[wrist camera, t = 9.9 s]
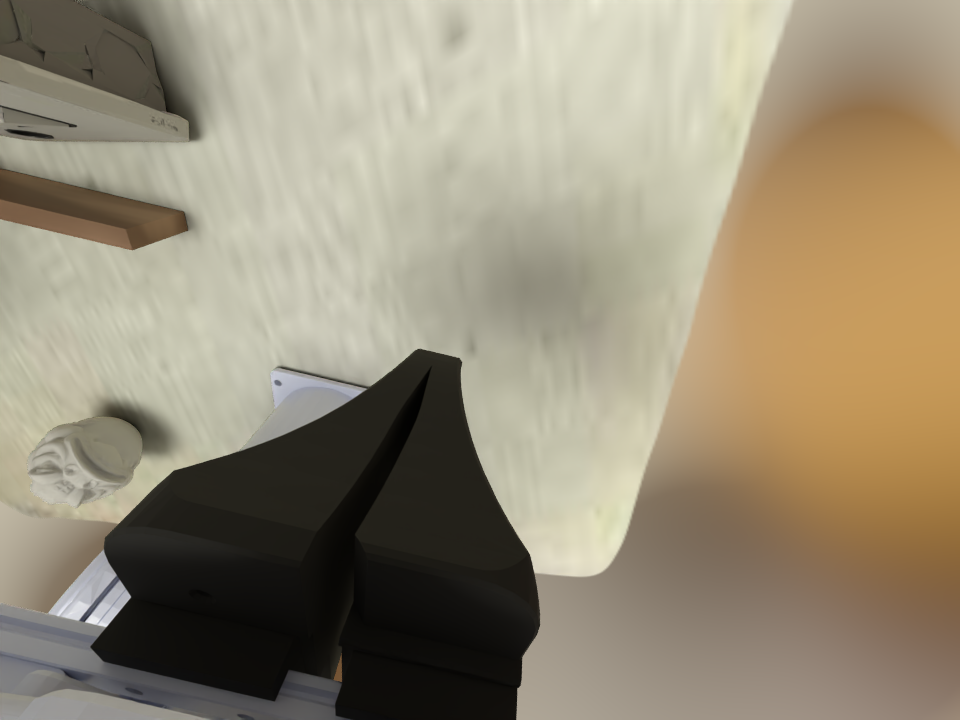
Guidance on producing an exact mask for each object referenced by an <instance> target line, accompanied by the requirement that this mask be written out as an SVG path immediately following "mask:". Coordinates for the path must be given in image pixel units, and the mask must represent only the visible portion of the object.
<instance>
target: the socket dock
mask: <svg viewBox="0 0 960 720" xmlns="http://www.w3.org/2000/svg"><path fill="white" fill-rule="evenodd" d="M0 219H2V220H6V221H11V222H15V223H19V224H23V225H28V226H32V227H36V228H40V229H45V230H49V231H53V232H57V233H61V234H66V235H70V236H74V237H78V238H83V239H87V240H91V241H95V242H100V243H104V244H108V245H112V246H117V247H121V248H125V249H129V250H135V249H137V248H140V247H143V246H146V245H149V244H152V243H154V242H157V241H160V240H163V239H166V238H168V237H171V236H174V235H177V234H180V233H183V232H185V231H188V228H187V224H186V220H185V215H184V212H182V211H178V210H173V209H169V208H165V207H161V206H156V205H152V204H148V203H144V202H140V201H135V200H131V199H127V198H123V197H118V196H114V195H110V194H106V193H101V192H97V191H93V190H89V189H85V188H80V187H76V186H72V185H68V184H63V183H59V182H55V181H51V180H47V179H42V178H38V177H34V176H30V175H25V174H21V173H17V172H13V171H8V170H4V169H0Z"/></svg>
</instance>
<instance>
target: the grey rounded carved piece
mask: <svg viewBox="0 0 960 720" xmlns="http://www.w3.org/2000/svg"><path fill="white" fill-rule="evenodd" d="M142 448H143V442H142V438H141V435H140V433H139V432H138V430H137V429H136V428H135V427H134V426H133V425H131V424H130V423H128V422H126V421H124V420H122V419H118V418H114V417H93V418H88V419H84V420H81V421H79V422H73V423H68V424H63V425H59V426H57V427H55V428H53V429H52V430H50V431H49V432H48V433H47V434H46V435H45V437H44V438H43V439H42V440H41V441H40V442H39V443H38V445H37V446H36V448H35V450H33V451H32V452H31V453H30V454H29V456H28V461H27V462H28V463H27V464H28V465H27V468H28V469H27V470H28V475H29V477H30V478H31V479H32V484H30V491H31V492H33V495H34V496H38V497H39V498H41V499H43V502H47V503H48V504H58V503H59V504H63V503H67V504H68V505H69V506H71V507H74V508H78V507H79V506H80V505H81V504H84V503H90V502H93V501H95V500H97V499H101V498H104V497H107V496H110V495H111V494H112V493H114V492H115V491H116V490H119V489H121V488H123V487H125V486H126V485H127V484H128V483H129V482H130V481H131V480H132V478H133V475H134V474H133V472H134V469H135V468H136V467H137V465H138V464H139V463H140V460H141V453H142Z"/></svg>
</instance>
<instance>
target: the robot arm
mask: <svg viewBox="0 0 960 720" xmlns="http://www.w3.org/2000/svg"><path fill="white" fill-rule="evenodd" d="M461 366H462V361H461V360H460V358H456V357H452V356H448V355H444V354H440V353H435V352H431V351H427V350H423V349H417V350H415V351H414V352H413V353H412V354H411V355H410V356H408V357H407V358H406V359H405V360H404V361H403V362H402V363H400V364H399V365H398V366H397V367H396V368H394V369H393V370H392V371H391V372H389V373H388V374H387V375H385V376H384V377H383V378H382V379H380V380H379V381H378V382H376V383H375V384H374V385H372V386H371V387H369V388H368V389H366V388H362V387H357V386H353V385H349V384H345V383H340V382H336V381H332V380H328V379H323V378H319V377H315V376H311V375H306V374H302V373H298V372H294V371H289V370H285V369H281V368H275V369H274V370H273V371H272V372H271V374H270V376H271V383H272V391H273V398H274V405H275V410H274V412H273V413H272V414H271V415H270V416H269V417H268V418H267V420H266V421H265V422H264V423H263V424H262V425H261V427H260V428H259V429H258V430H257V431H256V432H255V433H254V435H253V436H252V437H251V438H250V439H249V440H248V441H247V443H246V444H245V445H244V446H243V447H242V448H241V450H240V451H239V452H236V453H233V454H230V455H226V456H223V457H220V458H216V459H213V460H209V461H206V462H203V463H199V464H196V465H193V466H189V467H186V468H182V469H178V470H174V471H173V472H172V473H171V474H170V475H169V476H167V477H166V478H165V479H164V480H163V481H162V482H161V483H159V484H158V485H157V486H156V487H155V488H154V489H153V490H152V491H151V492H150V493H149V494H148V495H147V496H146V497H145V498H144V499H143V500H142V501H141V502H140V503H139V504H138V505H137V506H136V507H135V508H134V509H133V510H132V511H131V512H130V513H129V514H128V515H127V516H126V517H125V518H124V519H123V520H122V521H121V522H120V523H119V524H118V525H117V526H116V527H115V528H114V530H112V531H111V532H110V533H109V534H108V535H107V536H106V537H105V542H104V550H103V551H102V552H101V553H100V554H99V555H98V556H97V557H96V558H95V559H94V560H93V561H92V563H91V564H90V565H89V566H88V567H87V568H86V569H85V570H84V571H83V572H82V574H81V575H80V576H79V577H78V578H77V579H76V580H75V581H74V583H73V584H72V585H71V586H70V587H69V588H68V590H67V591H66V592H65V593H64V594H63V595H62V597H61V598H60V599H59V600H58V601H57V603H56V604H55V605H54V606H53V608H52V609H51V610H50V612H49V613H48V614H47V613H42V612H39V611H34V610H30V609H26V608H22V607H17V606H13V605H9V604H4V603H0V720H516V711H517V688H519V687H520V685H521V678H522V657H523V655H524V653H525V652H526V650H527V649H528V647H529V646H530V644H531V643H532V641H533V640H534V638H535V637H536V635H537V633H538V630H539V627H540V609H539V599H538V592H537V585H536V580H535V575H534V570H533V566H532V561H531V557H530V554H529V552H528V551H527V549H526V548H525V546H524V545H523V543H522V542H521V540H520V539H519V537H518V535H517V534H516V532H515V530H514V529H513V527H512V525H511V524H510V522H509V520H508V519H507V517H506V515H505V513H504V511H503V510H502V508H501V506H500V504H499V502H498V500H497V498H496V496H495V494H494V492H493V490H492V488H491V486H490V484H489V482H488V479H487V477H486V475H485V473H484V471H483V468H482V466H481V463H480V461H479V458H478V456H477V453H476V450H475V447H474V444H473V441H472V438H471V434H470V431H469V427H468V423H467V419H466V414H465V410H464V404H463V398H462V390H461ZM278 380H279V381H280V382H279V381H278ZM341 653H342V682H339V681H335V680H333V679H334V676H335V673H336V669H337V666H338V663H339V660H340V656H341Z"/></svg>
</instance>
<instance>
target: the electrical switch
mask: <svg viewBox="0 0 960 720" xmlns="http://www.w3.org/2000/svg"><path fill="white" fill-rule="evenodd" d="M13 10H14V11H13ZM18 37H19V39H18V40H17V38H18ZM0 135H1V136H6V137H12V138H18V139H24V140H33V141H121V142H189V121H187V120H185V119H184V118H182V117H180V116H178V115H175V114H171V113H167V112H166V106H165V100H164V93H163V89H162V86H161V84H160V81H159V79H158V76H157V72H156V67H155V62H154V57H153V52H152V47H151V42H150V41H148V40H146V39H145V38H143V37H141V36H139V35H137V34H135V33H133V32H131V31H129V30H128V29H126V28H124V27H122V26H120V25H118V24H116V23H114V22H113V21H111V20H109V19H107V18H105V17H103V16H101V15H99V14H98V13H96V12H94V11H92V10H90V9H88V8H86V7H84V6H82V5H81V4H79V3H77V2H75V1H73V0H0Z"/></svg>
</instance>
